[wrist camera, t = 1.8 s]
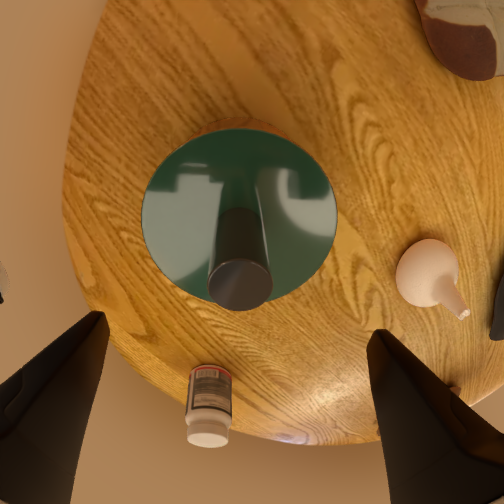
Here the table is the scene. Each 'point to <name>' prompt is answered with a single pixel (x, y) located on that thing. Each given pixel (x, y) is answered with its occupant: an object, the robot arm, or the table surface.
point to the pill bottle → (209, 406)
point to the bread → (466, 35)
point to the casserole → (498, 314)
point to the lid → (239, 216)
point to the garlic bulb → (430, 277)
